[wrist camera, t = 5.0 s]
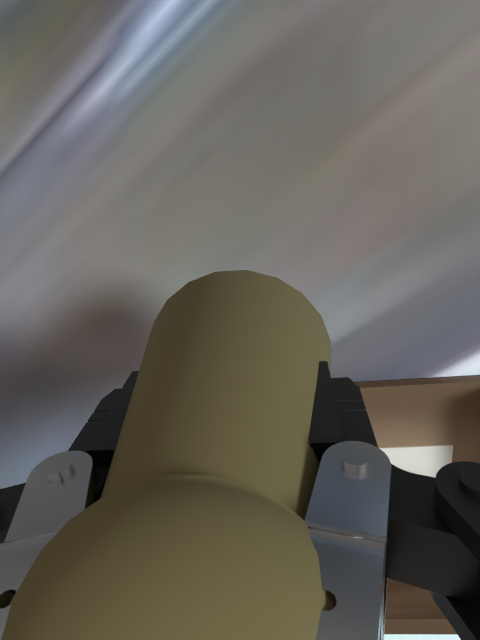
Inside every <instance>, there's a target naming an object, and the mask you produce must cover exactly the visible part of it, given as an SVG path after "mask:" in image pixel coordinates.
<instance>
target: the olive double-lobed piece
mask: <svg viewBox="0 0 480 640" xmlns="http://www.w3.org/2000/svg"><path fill="white" fill-rule="evenodd" d="M319 361H327V362H328V366H329V371H330V372H331V341H330V338H329V336H328V333H327V330H326V328H325V325H324V322H323V319H322V317H321V315H320V314H319V313H318V311H317V310H316V309H315V308H314V307H313V306H312V304H311V303H310V302H309V301H308V300H307V298H306V297H305V296H304V295H303V294H302V293H301V292H299V291H297V290H296V289H294V288H293V287H291V286H289V285H288V284H286V283H285V282H283V281H281V280H280V279H278V278H276V277H272V276H268V275H264V274H260V273H256V272H252V271H248V270H240V271H221V272H214V273H212V274H209V275H206V276H204V277H201V278H199V279H196V280H193V281H191V282H188V283H187V284H186V285H185V286H184V287H182V288H181V289H180V290H179V291H178V292H176V293H175V294H174V295H173V296H172V297H170V298H169V299H168V300H167V301H166V303H165V305H164V306H163V308H162V310H161V311H160V313H159V315H158V317H157V318H156V320H155V322H154V324H153V327H152V330H151V334H150V337H149V340H148V344H147V347H146V350H145V353H144V357H143V360H142V363H141V367H140V370H139V373H138V376H137V380H136V383H135V386H134V390H133V393H132V396H131V399H130V403H129V406H128V409H127V413H126V416H125V419H124V422H123V426H122V429H121V432H120V436H119V439H118V443H117V447H116V450H115V452H114V455H113V459H112V462H111V465H110V468H109V472H108V475H107V478H106V482H105V485H104V488H103V491H102V495H101V498H100V499H99V500H98V501H96V502H95V503H94V504H92V505H91V506H89V507H88V508H86V509H85V510H83V511H82V512H80V513H79V514H77V515H76V516H74V517H73V518H72V519H70V520H69V521H68V522H67V523H66V524H65V525H64V526H63V527H62V529H61V530H60V531H59V532H58V533H57V534H56V535H55V536H54V537H53V538H52V539H51V540H50V541H49V542H48V543H47V544H46V545H45V546H44V547H43V548H42V550H41V551H40V553H39V555H38V556H37V558H36V560H35V561H34V563H33V565H32V566H31V568H30V570H29V572H28V573H27V575H26V577H25V578H24V580H23V582H22V584H21V585H20V587H19V589H18V590H17V592H16V594H15V595H14V597H13V598H12V600H11V602H10V603H9V605H11V606H10V610H9V614H8V617H7V621H6V624H5V628H4V632H3V635H2V639H1V640H315V638H316V633H317V629H318V624H319V619H320V614H321V610H324V611H330V610H332V609H333V608H334V607H335V606H334V604H333V602H332V601H331V599H330V598H329V597H328V595H327V594H326V593H325V592H324V591H323V590H322V583H321V575H320V566H319V557H318V554H317V552H316V549H315V547H314V545H313V543H312V540H311V538H310V535H309V532H308V527H309V525H308V524H307V523H306V522H305V517H306V513H307V510H308V506H309V502H310V499H311V495H312V491H313V488H314V484H315V480H316V477H317V473H318V469H319V466H320V465H319V462H318V460H317V457H316V455H315V453H314V450H313V449H312V447H311V446H310V445H309V438H308V437H309V430H310V424H311V417H312V410H313V404H314V397H315V390H316V384H317V376H318V367H319ZM9 605H8V606H9Z"/></svg>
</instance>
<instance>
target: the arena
mask: <svg viewBox="0 0 480 640" xmlns="http://www.w3.org/2000/svg"><path fill="white" fill-rule="evenodd" d="M354 383H355V384H356V385H357V386H358V387H359V388H360V391H361V394H362V397H363V401H364V404H365V407H366V411H367V413H368V416H369V420H370V423H371V426H372V429H373V432H374V435H375V439H376V442H377V445H378V448H379V449H381V450H382V451H383V452H384V453H385V454H386V455H387V456H388V458H389V459H390V462H391V464H393V465H394V466H396V467H398V468H400V469H402V470H405V471H408V472H411V473H415V474H420V475H425V476H430V477H435V478H436V474H437V472H438V471H439V469H441V468H442V467H443V466H445V465H447V464H449V463H453V462H459V461H469V462H476V463H480V375H473V376H456V377H438V378H421V379H403V380H386V381H368V382H354ZM384 634H457V633H456V631H455V630H454V629H453V627H452V626H451V624H450V623H449V621H448V620H447V618H446V617H445V616H444V614H443V613H442V611H441V610H440V608H439V607H438V605H437V604H436V603H435V601H434V600H433V598H432V596H431V594H430V592H429V590H425V589H422V588H419V587H415V586H412V585H409V584H406V583H402V582H399V581H396V580H392V579H389V578H387V594H386V611H385V627H384Z"/></svg>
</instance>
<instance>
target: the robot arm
mask: <svg viewBox="0 0 480 640" xmlns="http://www.w3.org/2000/svg"><path fill="white" fill-rule="evenodd" d="M138 373H139V371H133V372H132V373H131V375H130V376H129V378H128V380H127V381H126V383H125V384H124V386H123V388H122V389H115V390H113V391H112V392H111V393H109V394H108V395H107V396H106V397H104V398H103V399H102V400H101V401H100V403H99V404H98V406H97V407H96V409H95V411H94V413H93V414H92V415H91V417H90V418H89V420H88V423H86V424H85V426H84V427H83V429H82V430H81V432H80V433H79V435H78V436H77V438H76V439H75V441H74V442H73V444H72V446H71V447H70V449H69V450H68V451H66V452H62V453H59V454H56V455H53V456H51V457H49V458H47V459H45V460H44V461H42V462H41V463H40V464H38V465H37V466H36V467H35V468H34V469H33V470H32V472H31V473H30V475H29V477H28V479H27V482H26V483H23V484H19V485H15V486H11V487H7V488H3V489H0V640H1V639H2V635H3V632H4V628H5V624H6V621H7V617H8V614H9V610H10V606H11V605H9V603H10V602H11V600H12V598H13V597H14V595H15V594H16V592H17V590H18V589H19V587H20V585H21V584H22V582H23V580H24V578H25V577H26V575H27V573H28V572H29V570H30V568H31V566H32V565H33V563H34V561H35V560H36V558H37V556H38V555H39V553H40V551H41V550H42V548H43V547H44V546H45V545H46V544H47V543H48V542H49V541H50V540H51V539H52V538H53V537H54V536H55V535H56V534H57V533H58V532H59V531H60V530H61V529H62V527H63V526H64V525H65V524H66V523H67V522H68V521H69V520H70V519H72V518H73V517H74V516H76V515H77V514H79V513H80V512H82V511H83V510H85V509H86V508H88V507H89V506H91V505H92V504H94V503H95V502H96V501H98V500H99V499H100V498H101V495H102V491H103V488H104V485H105V482H106V478H107V475H108V472H109V468H110V465H111V462H112V459H113V455H114V452H115V450H116V447H117V443H118V439H119V436H120V432H121V429H122V426H123V422H124V419H125V416H126V413H127V409H128V406H129V403H130V399H131V396H132V393H133V390H134V386H135V383H136V380H137V376H138ZM308 438H309V445H310V446H311V447H312V449H313V450H314V453H315V455H316V457H317V460H318V462H319V465H320V466H319V469H318V473H317V477H316V480H315V484H314V488H313V491H312V495H311V499H310V502H309V506H308V510H307V513H306V517H305V522H306V523H307V524H308V525H309V527H308V532H309V535H310V538H311V540H312V543H313V545H314V547H315V549H316V552H317V554H318V557H319V566H320V575H321V583H322V590H323V591H324V592H325V593H326V594H327V595H328V597H329V598H330V599H331V601H332V602H333V604H334V606H335V607H334V608H333V609H332V610H330V611H324V610H321V614H320V619H319V624H318V629H317V633H316V638H315V640H384V627H385V611H386V594H387V578H389V579H392V580H396V581H399V582H402V583H406V584H409V585H412V586H415V587H419V588H422V589H425V590H429V592H430V594H431V596H432V598H433V600H434V601H435V603H436V604H437V605H438V607H439V608H440V610H441V611H442V613H443V614H444V616H445V617H446V618H447V620H448V621H449V623H450V624H451V626H452V627H453V629H454V630H455V631H456V633H457V634H458V636H459V637H460V639H461V640H480V463H476V462H469V461H459V462H453V463H449V464H447V465H445V466H443V467H442V468H441V469H439V471H438V472H437V474H436V478H435V477H430V476H425V475H420V474H415V473H411V472H408V471H405V470H402V469H400V468H398V467H396V466H394V465H393V464H391V462H390V459H389V458H388V456H387V455H386V454H385V453H384V452H383V451H382V450H381V449H379V448H378V445H377V442H376V439H375V435H374V432H373V429H372V426H371V423H370V420H369V416H368V413H367V411H366V407H365V404H364V401H363V397H362V394H361V391H360V388H359V387H358V386H357V385H356V384H355V383H354V382H353V381H352V380H351V379H349V378H348V377H346V378H331V376H330V371H329V366H328V362H327V361H319V367H318V376H317V384H316V390H315V397H314V404H313V410H312V417H311V424H310V430H309V437H308ZM8 605H9V606H8Z"/></svg>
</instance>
